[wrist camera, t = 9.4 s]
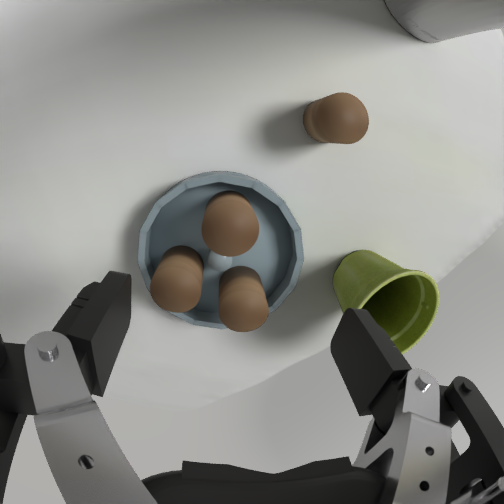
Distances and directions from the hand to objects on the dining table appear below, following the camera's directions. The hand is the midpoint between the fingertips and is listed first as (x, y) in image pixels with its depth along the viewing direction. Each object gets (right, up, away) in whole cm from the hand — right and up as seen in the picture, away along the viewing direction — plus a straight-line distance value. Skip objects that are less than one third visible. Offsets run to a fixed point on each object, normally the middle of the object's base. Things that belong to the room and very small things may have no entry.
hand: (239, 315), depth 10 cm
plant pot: (+12, 0, +19) cm, 22 cm away
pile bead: (+7, +14, +12) cm, 20 cm away
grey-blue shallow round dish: (-2, +2, +16) cm, 16 cm away
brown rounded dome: (-2, +5, +14) cm, 15 cm away
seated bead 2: (-1, -1, +16) cm, 16 cm away
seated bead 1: (-6, +1, +15) cm, 16 cm away
